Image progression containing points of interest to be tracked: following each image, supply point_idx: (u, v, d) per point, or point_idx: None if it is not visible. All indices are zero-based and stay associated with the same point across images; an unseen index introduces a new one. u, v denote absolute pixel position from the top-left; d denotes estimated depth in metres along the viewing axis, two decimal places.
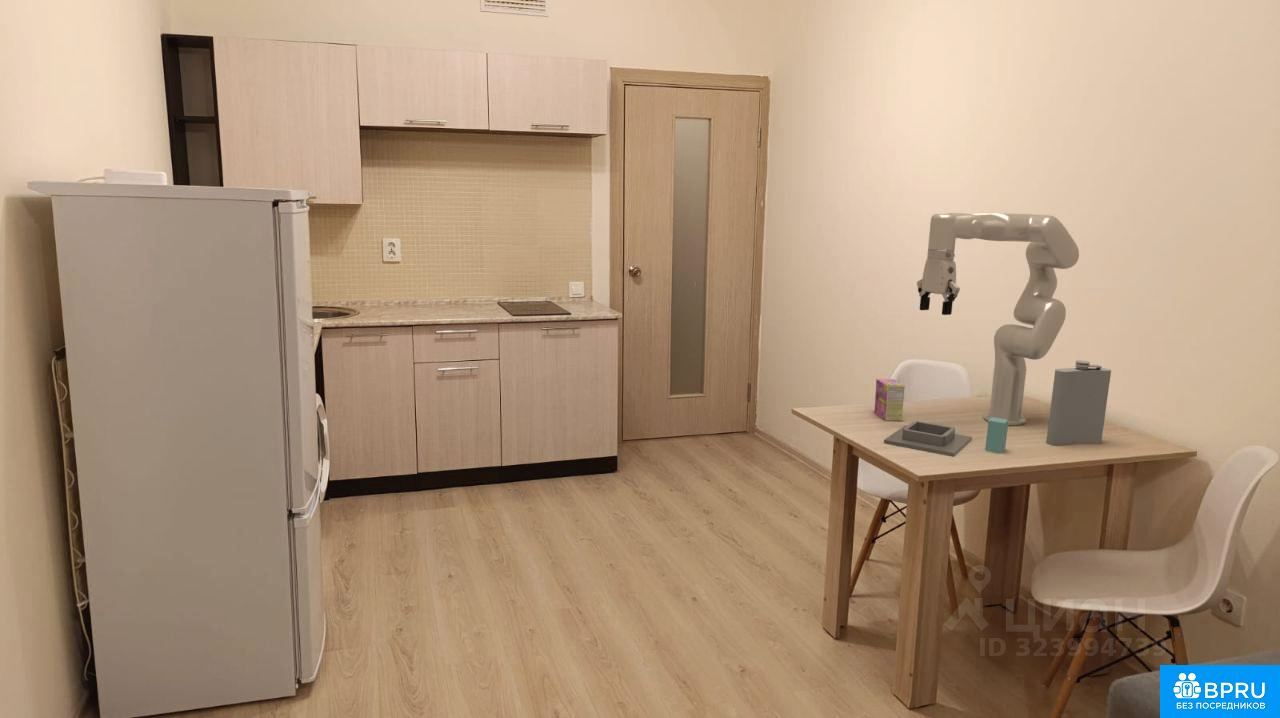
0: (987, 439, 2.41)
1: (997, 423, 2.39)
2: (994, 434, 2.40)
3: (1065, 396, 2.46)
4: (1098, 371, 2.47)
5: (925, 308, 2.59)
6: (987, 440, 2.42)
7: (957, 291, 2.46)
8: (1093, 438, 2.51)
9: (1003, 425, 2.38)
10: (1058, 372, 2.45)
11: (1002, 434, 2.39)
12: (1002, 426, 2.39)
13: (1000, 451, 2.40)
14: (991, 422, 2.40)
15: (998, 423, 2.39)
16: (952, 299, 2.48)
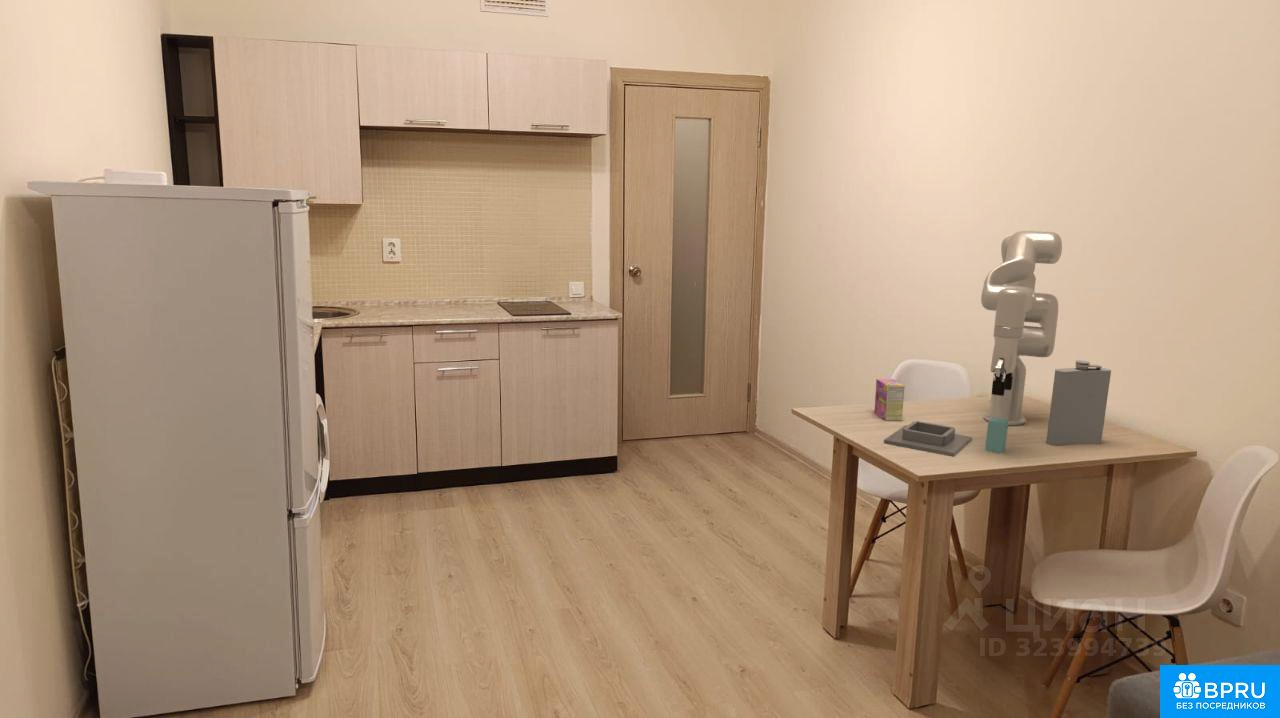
0: (987, 439, 2.41)
1: (997, 423, 2.39)
2: (994, 434, 2.40)
3: (1065, 396, 2.46)
4: (1098, 371, 2.47)
5: None
6: (987, 440, 2.42)
7: None
8: (1093, 438, 2.51)
9: (1003, 425, 2.38)
10: (1058, 372, 2.45)
11: (1002, 434, 2.39)
12: (1002, 426, 2.39)
13: (1000, 451, 2.40)
14: (991, 422, 2.40)
15: (998, 423, 2.39)
16: None
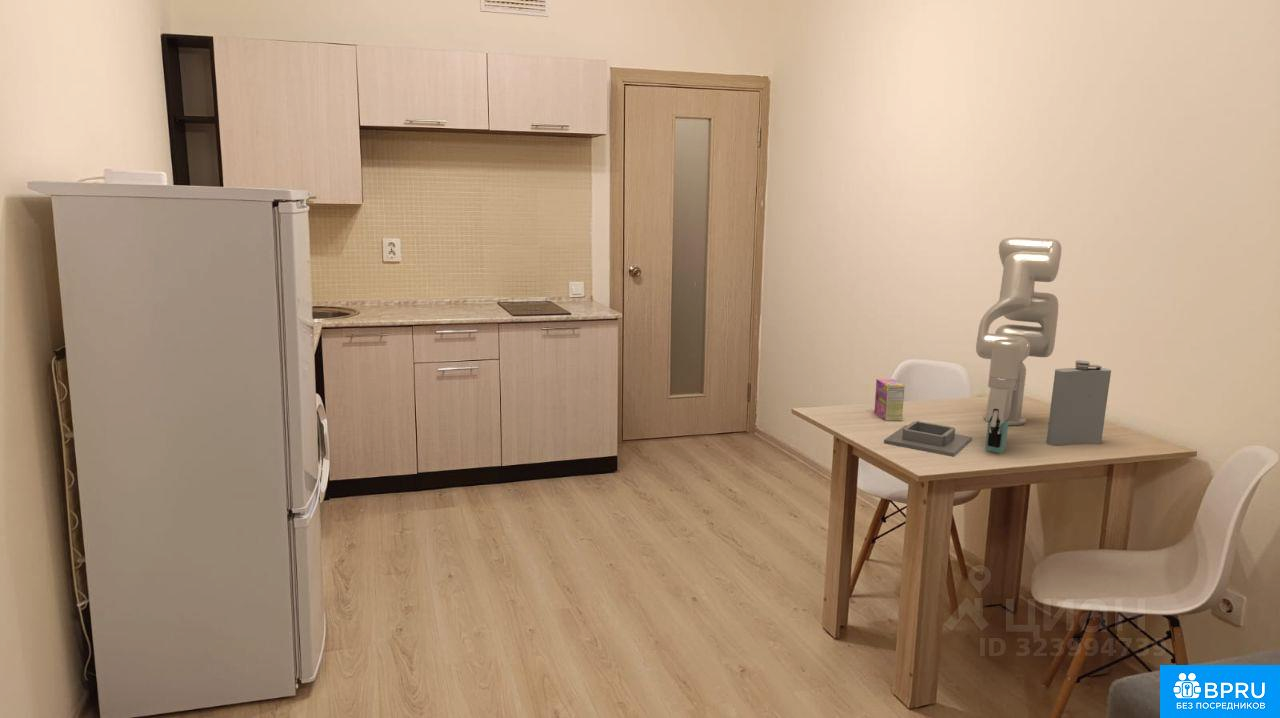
0: (987, 439, 2.41)
1: None
2: None
3: (1065, 396, 2.46)
4: (1098, 371, 2.47)
5: None
6: (987, 440, 2.41)
7: None
8: (1093, 438, 2.51)
9: (1003, 425, 2.38)
10: (1058, 372, 2.45)
11: (1002, 434, 2.39)
12: (1002, 426, 2.39)
13: (1000, 451, 2.40)
14: None
15: None
16: None
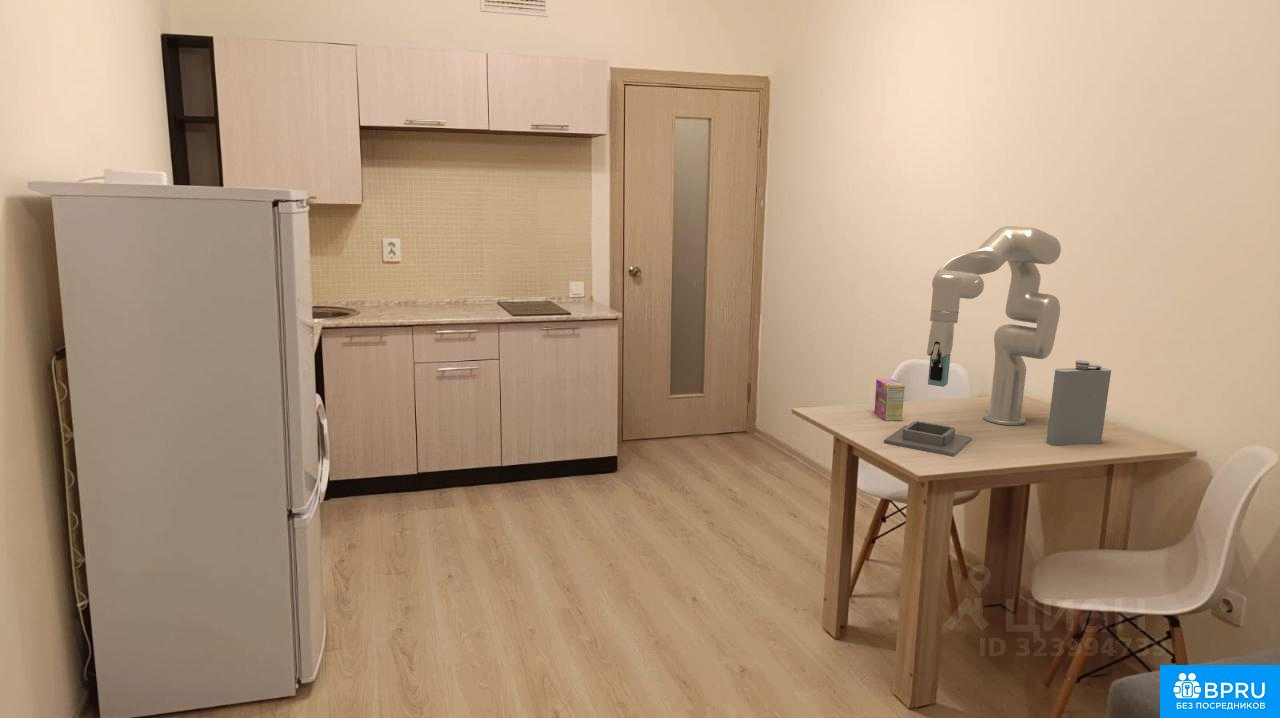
0: (929, 373, 2.44)
1: None
2: None
3: (1065, 396, 2.46)
4: (1098, 371, 2.47)
5: None
6: (929, 374, 2.44)
7: None
8: (1093, 438, 2.51)
9: (945, 358, 2.41)
10: (1058, 372, 2.45)
11: (944, 367, 2.42)
12: (943, 360, 2.41)
13: (942, 384, 2.43)
14: None
15: None
16: None
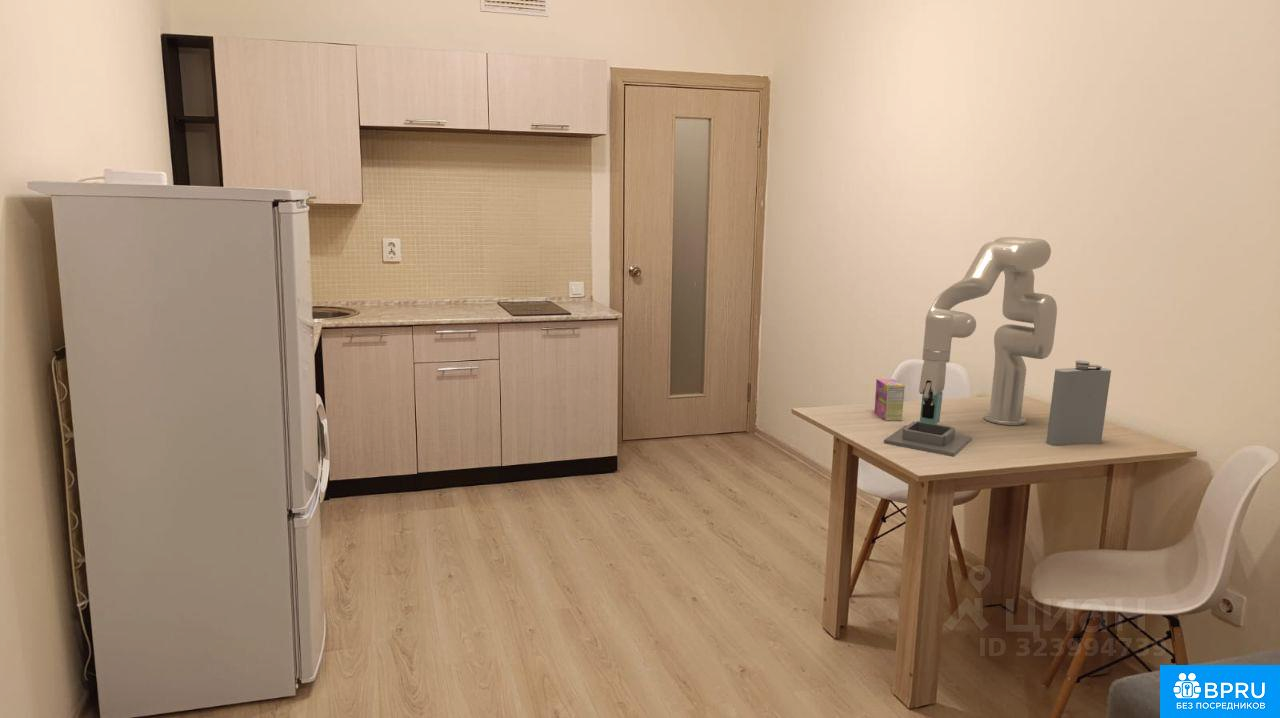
0: (921, 411, 2.47)
1: None
2: None
3: (1065, 396, 2.46)
4: (1098, 371, 2.47)
5: None
6: (921, 412, 2.47)
7: None
8: (1093, 438, 2.51)
9: (936, 397, 2.44)
10: (1058, 372, 2.45)
11: (935, 406, 2.44)
12: (935, 398, 2.44)
13: (934, 422, 2.45)
14: None
15: None
16: None
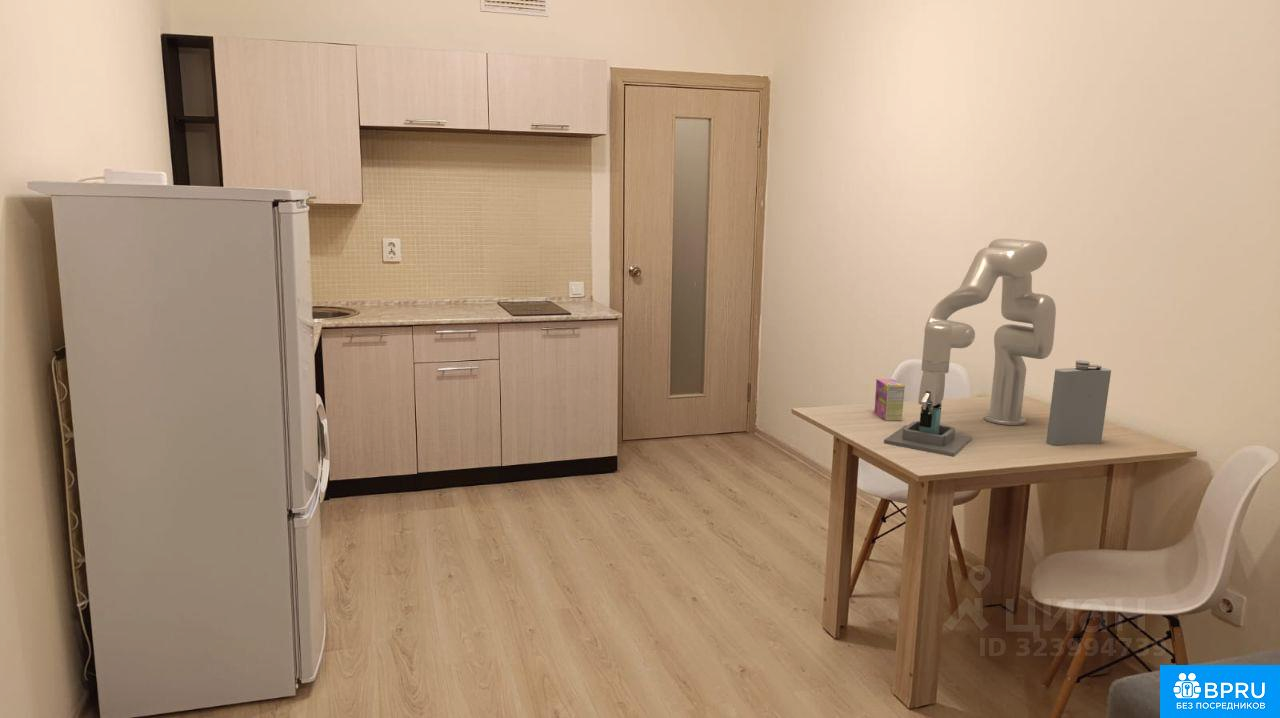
0: (920, 427, 2.48)
1: None
2: None
3: (1065, 396, 2.46)
4: (1098, 371, 2.47)
5: None
6: (920, 428, 2.48)
7: None
8: (1093, 438, 2.51)
9: (935, 414, 2.45)
10: (1058, 372, 2.45)
11: (934, 422, 2.45)
12: (934, 415, 2.45)
13: None
14: None
15: None
16: None
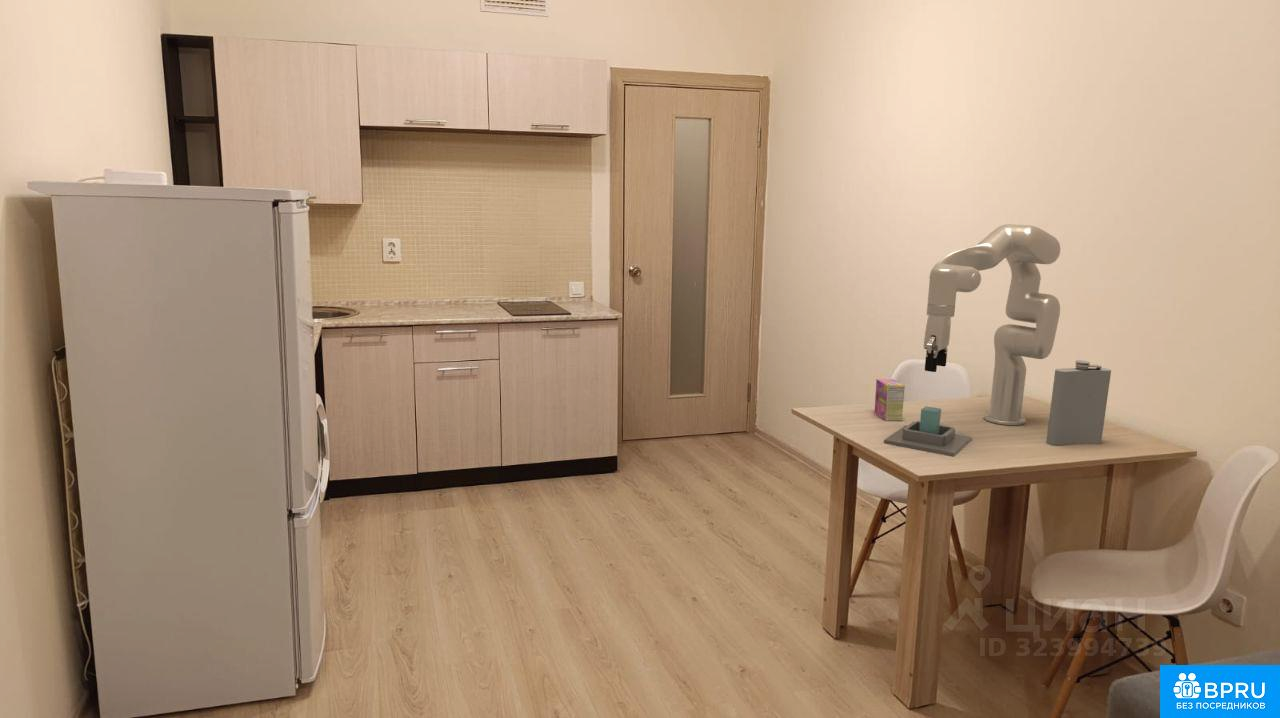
0: (920, 427, 2.48)
1: (929, 412, 2.46)
2: (926, 423, 2.47)
3: (1065, 396, 2.46)
4: (1098, 371, 2.47)
5: None
6: (920, 428, 2.48)
7: None
8: (1093, 438, 2.51)
9: (935, 414, 2.45)
10: (1058, 372, 2.45)
11: (934, 422, 2.45)
12: (934, 415, 2.45)
13: None
14: (924, 411, 2.47)
15: (930, 412, 2.46)
16: None
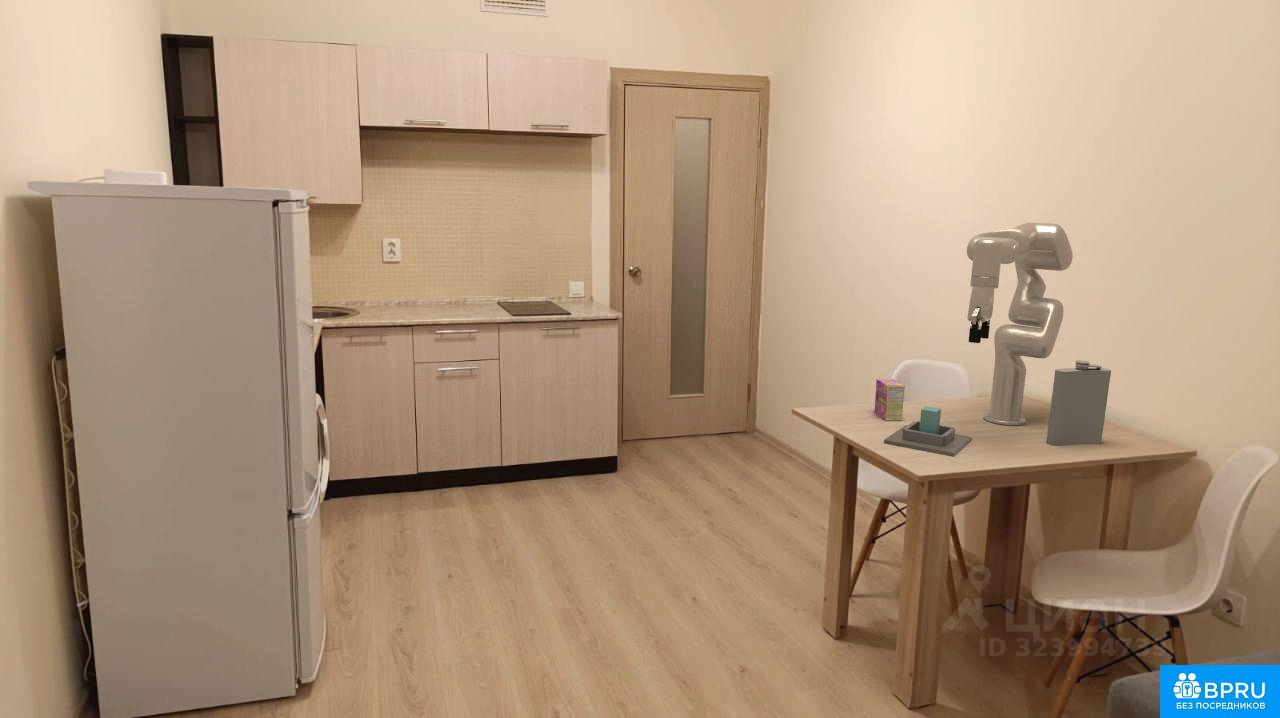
0: (920, 427, 2.48)
1: (929, 412, 2.46)
2: (926, 423, 2.47)
3: (1065, 396, 2.46)
4: (1098, 371, 2.47)
5: None
6: (920, 428, 2.48)
7: None
8: (1093, 438, 2.51)
9: (935, 414, 2.45)
10: (1058, 372, 2.45)
11: (934, 422, 2.45)
12: (934, 415, 2.45)
13: None
14: (924, 411, 2.47)
15: (930, 412, 2.46)
16: None
